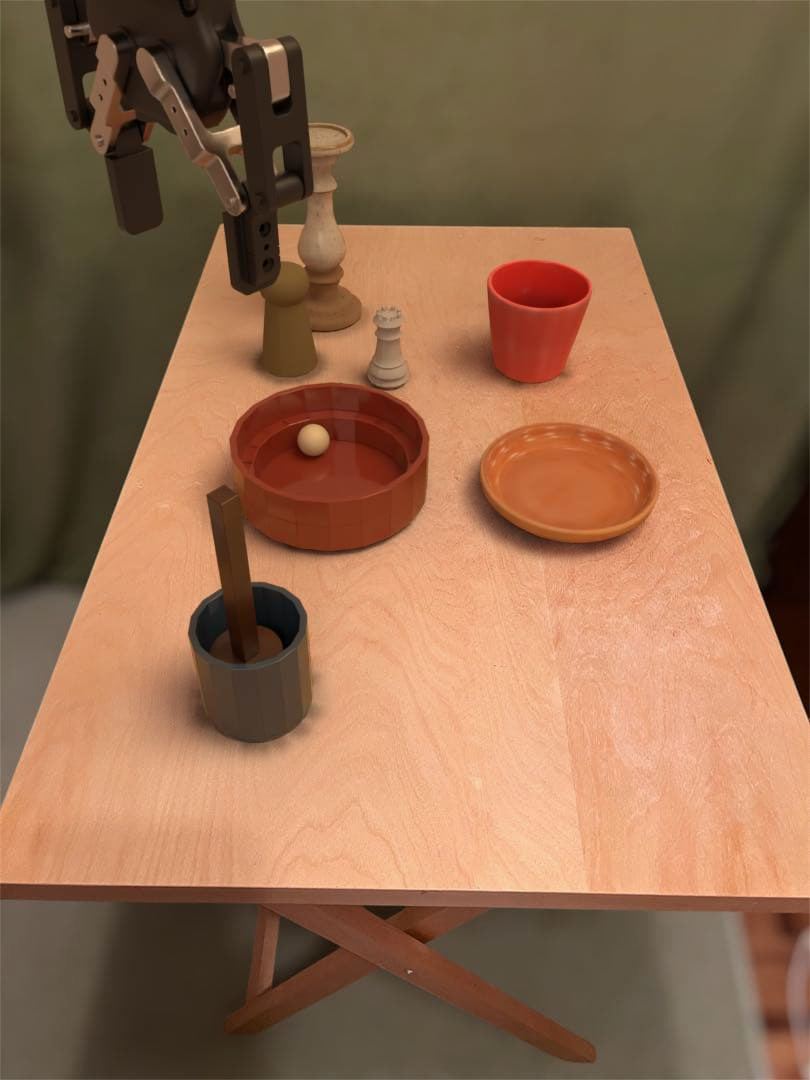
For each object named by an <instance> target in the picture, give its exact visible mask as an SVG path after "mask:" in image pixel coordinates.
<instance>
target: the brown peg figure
mask: <svg viewBox="0 0 810 1080" xmlns="http://www.w3.org/2000/svg"><path fill="white" fill-rule="evenodd" d="M309 286H310V284H309V278H308V275H307V272H306V271H305V269H304V267H303V266H302V265H301V264H299V263H296V262H294V261H286V260H285V261H284V260H282V261H281V270H280V274H279V276H278V278H277V280H276V281H275V283H274V284H273V285H271V286H269V287H267V288H264V289H262V290H260V291H259V293H260V296H261V297H262V298H263V300H264V308H263V309H264V311H263V330H262V331H263V333H262V348H261V349H262V352H261V365H262V368H263V369H264V370H265V372H267V373H269V374H271V375H273V376H277V377H280V378H281V377H282V378H294V377H300V376H304V375H306V374H308V373H310V372H312V371H313V370H314V369H315V368H316V367H317V365H318V356H317V351H316V345H315V341H314V336H313V335H314V334H313V330H311V325H310V321H309V316H308V311H307V306H306V301H305V297H306V296H307V294H308V291H309Z"/></svg>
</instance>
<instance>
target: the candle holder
mask: <svg viewBox="0 0 810 1080" xmlns="http://www.w3.org/2000/svg"><path fill="white" fill-rule="evenodd" d="M308 125H309V137H310V148H311V159H312V171H313V182H314V191H313V194H312V196H310V197H308V198H306V217H305V221H304V225H303V227H302V230H301V233H300V235H299V238H298V240H297V241H298V242H297V248H296V249H297V254H298V257H299V259H300V261H301V262H302V264H303V265H305V266H304V267H303V268H304V269H305V271H306V272H307V275H308V278H309V284H310V286H309V291H308V294H307V296H306V297H305V301H306V306H307V311H308V316H309V321H310V325H311V330H312V331H317V332H330V331H338V330H342V329H345V328H348V327H350V326H352V325H354V324H355V323H356V322H358V320H359V319H360V318H361V316H362V311H363V307H362V305H363V304H362V302H361V300H360V299H359V298H358V297H357V296H356V295H355V294H354V293H352V292H351V291H350V290H349V289H348V288H346V287H344V286H342V285H339V284H340V282H341V280H342V279H343V277H344V275H345V271H344V269H343V267H342V266H341V264H342V263H343V261H344V260H345V257H346V254H347V245H346V240H345V238H344V235H343V234H342V231H341V229H340V228H339V225H338V223H337V220H336V218H335V217H336V216H335V211H334V202H333V201H334V199H333V195H334V193H333V192H334V191H335V190H336V189H337V188H338V183H337V181H336V179H335V178H334V176H333V174H332V171H333V170H332V169H333V166H334V164H335V163H337V161H338V160H339V156H340V155H342V154H345V153H347V152H349V151H350V150H351V149H353V147H354V146H355V136H354V134H353V132H352V131H351V130H350V129H348V128H347V127H345V126H342V125H339V124H335V123H329V122H308ZM353 294H354V295H353Z"/></svg>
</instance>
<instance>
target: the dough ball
mask: <svg viewBox="0 0 810 1080" xmlns="http://www.w3.org/2000/svg"><path fill="white" fill-rule="evenodd" d="M329 441H330V440H329V435H328V432H327V431H326V430H325V429H324V428H323V427H322V426H320V425H317V424H309V425H307V426H305V427H303V428H302V429H301V430H300V432H299V434H298V438H297V442H298V446H299V448H300V449H301V451H302V452H303V453H305V454H306V455H309V456H318V455H321V454H322V453H324V452H325V451H326V450H327V448H328V446H329Z"/></svg>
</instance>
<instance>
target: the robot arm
mask: <svg viewBox="0 0 810 1080" xmlns="http://www.w3.org/2000/svg"><path fill="white" fill-rule="evenodd" d="M43 1H44V2H43V3H44V6H45V12H46V17H47V22H48V29H49V33H50V39H51V44H52V49H53V54H54V58H55V64H56V71H57V74H58V80H59V84H60V91H61V96H62V101H63V106H64V111H65V115H66V118H67V121H68V123H69V124H70V125H69V126H71V127H72V129H74V130H75V131H82V130H84V129H85V130H87V131H88V133H89V136H90V141H91V143H92V146H93V148H94V149H95V151H96V152H97V153H98V154H99V155H102V156H103V157H104V162H105V163H104V164H105V167H106V172H107V177H108V182H109V187H110V191H111V197H112V198H111V199H112V203H113V207H114V213H115V216H116V217H115V218H116V222H117V226H118V227H119V229H120V230H122V231H124V232H125V233H127V234H129V235H131V236H137V235H140V234H143V233H145V232H148V231H151V230H153V229H156V228H158V227H159V226H161V225H162V223H163V221H164V210H163V205H162V204H163V203H162V197H161V191H160V185H159V179H158V173H157V166H156V161H155V155H154V149H153V147H150V146H148V145H146V144H144V143H147V142H149V140H150V138H151V135H152V132H153V129H154V126H155V124H158V125H160V126H161V127H162V128H163V129H165V130H166V131H167V132H168V133H170V134H171V135H175V136H177V138H178V139H179V141H180V144H181V145H182V147H183V149H184V151H185V153H186V155H187V157H188V159H189V160H190V162H191V163H193V164H194V165H195V166H197V167H201V168H203V169H204V170H205V171H206V173H207V174H208V176H209V178H210V180H211V182H212V184H213V186H214V189H215V191H216V192H217V194H218V196H219V198H220V200H221V202H222V204H223V206H224V208H225V211H222V212H221V213H222V214H221V215H222V223H223V232H224V240H225V247H226V248H225V249H226V256H227V264H228V275H229V281H230V287H231V288H232V289H233V290H235V291H236V292H238V293H240V294H242V295H244V296H251V295H253V294H255V293H258V292H260V290H262V289H264V288H267V287H269V286H271V285H273V284H274V283H275V281H276V280H277V278H278V276H279V274H280V270H281V260H282V259H281V255H280V254H281V251H280V250H281V248H280V237H279V235H280V234H279V222H278V210H279V209H281V208H284V207H286V206H288V205H291V204H294V203H296V202H299V201H303V200H307V198H308V197H310V196H312V194H313V191H314V182H313V171H312V159H311V148H310V137H309V125H308V123H309V115H308V104H307V93H306V82H305V69H304V59H303V58H304V57H303V50H302V48H301V45H300V43H299V42H298V40H297V39H296V38H295V37H294V36H292V35H290V34H289V35H284V36H280V37H276V38H275V37H272V38H268V39H264V40H263V39H258V38H254V37H250V36H247V35H246V32H245V30H244V27H243V25H242V21H241V19H240V16H239V11H238V8H237V1H236V0H43ZM93 72H95V74H94V77H93V78H94V79H93V81H92V85H91V86H92V87H91V91H90V95H89V96H87V97H86V94H85V88H84V77H85V75H86V74H89V73H93ZM228 111H230V113H231V115H232V118H233V120H234V121H235V126H231V127H227V128H225V129H222V130H218V131H211V130H209V129H212V128H215V127H218V126H220V124H221V123H222V121H223V120H224V119H225V117H226V116H227V114H228ZM280 147H281V152H282V160H283V161H282V163H283V170H280V171H279V168H278V167H277V165H276V163H275V161H274V152H275V150H276V149H277V148H280ZM233 155H239V156H241V157H242V159H243V162H244V170H245V176H246V178H245V179H243V180H241V179H240V177H239V175H238V173H237V171H236V168H235V167H234V164H233V162H232V160H231V158H230V156H233Z"/></svg>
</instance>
